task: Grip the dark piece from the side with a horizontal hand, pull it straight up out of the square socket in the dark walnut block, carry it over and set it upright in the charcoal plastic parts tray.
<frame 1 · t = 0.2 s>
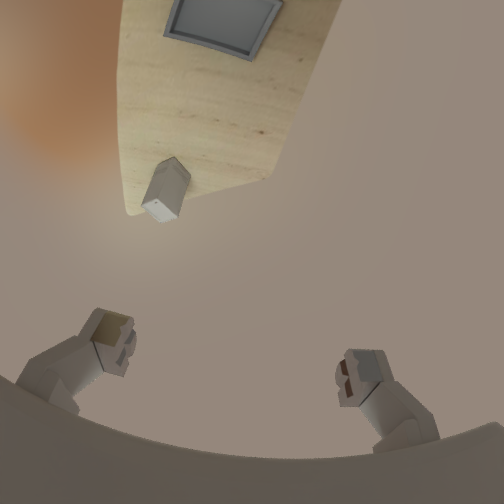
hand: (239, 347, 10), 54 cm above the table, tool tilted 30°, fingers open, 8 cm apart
parts tray: (222, 13, 37), on the table
skincare box: (175, 169, 75), on the table
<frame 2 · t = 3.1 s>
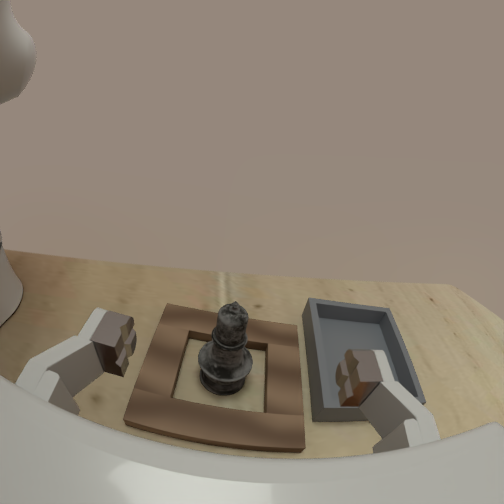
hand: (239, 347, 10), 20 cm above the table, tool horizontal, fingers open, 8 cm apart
dark piece: (222, 377, 31), resting in socket block
parts tray: (354, 364, 35), on the table
socket block: (222, 376, 30), on the table
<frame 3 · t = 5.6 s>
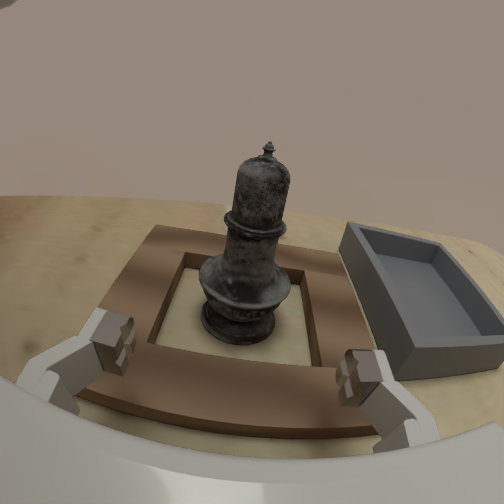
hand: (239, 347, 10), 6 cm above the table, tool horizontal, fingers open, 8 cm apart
dark piece: (237, 318, 20), resting in socket block
parts tray: (418, 305, 24), on the table
socket block: (238, 316, 20), on the table
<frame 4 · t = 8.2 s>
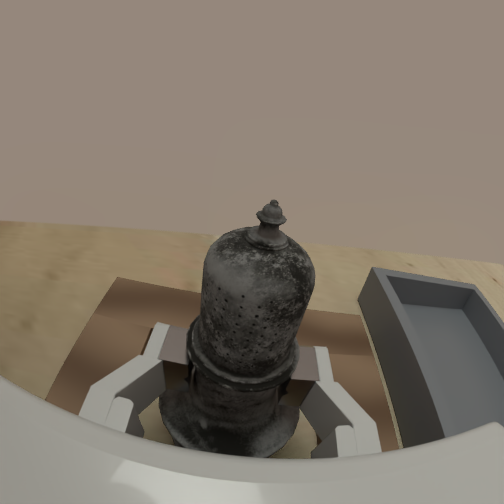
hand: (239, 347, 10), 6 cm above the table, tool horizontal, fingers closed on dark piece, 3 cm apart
dark piece: (222, 432, 12), resting in socket block, touching gripper
parts tray: (452, 375, 16), on the table
socket block: (223, 430, 12), on the table
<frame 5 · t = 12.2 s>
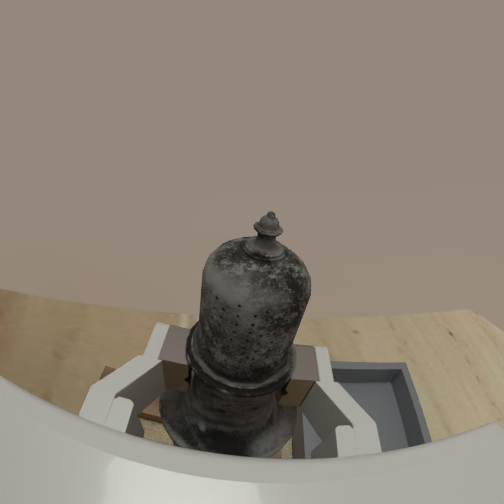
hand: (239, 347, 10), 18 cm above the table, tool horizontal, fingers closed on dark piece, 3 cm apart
dark piece: (222, 434, 12), point 12 cm above the table, touching gripper
parts tray: (357, 445, 22), on the table
socket block: (174, 472, 18), on the table
when the fingers open (8 cm above the table, at t = 16.4 s): dark piece stays where it is, resting on parts tray.
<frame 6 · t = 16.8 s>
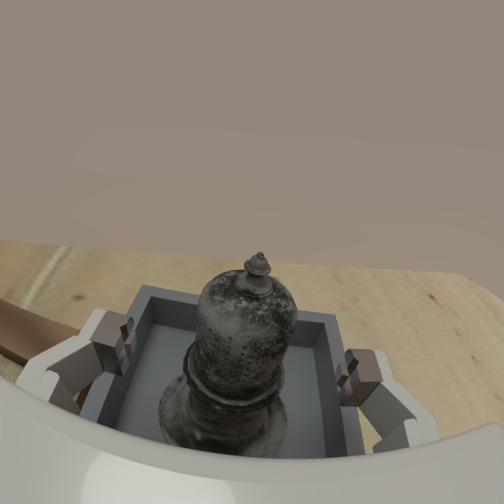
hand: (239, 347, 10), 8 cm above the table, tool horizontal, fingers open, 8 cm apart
dark piece: (217, 440, 13), point 1 cm above the table, touching parts tray
parts tray: (220, 443, 13), on the table
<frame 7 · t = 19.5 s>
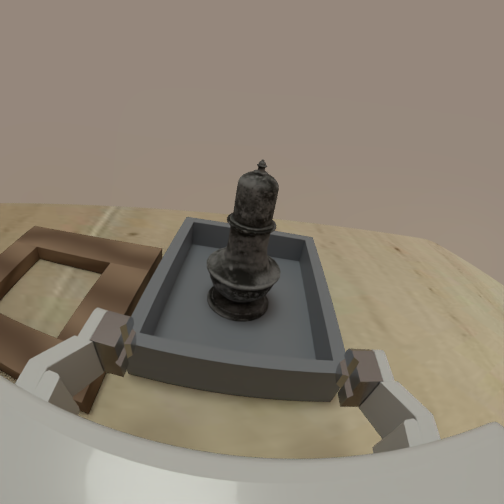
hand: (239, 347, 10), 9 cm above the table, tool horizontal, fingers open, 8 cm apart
dark piece: (237, 301, 24), point 1 cm above the table, touching parts tray
parts tray: (239, 306, 25), on the table
socket block: (47, 296, 20), on the table
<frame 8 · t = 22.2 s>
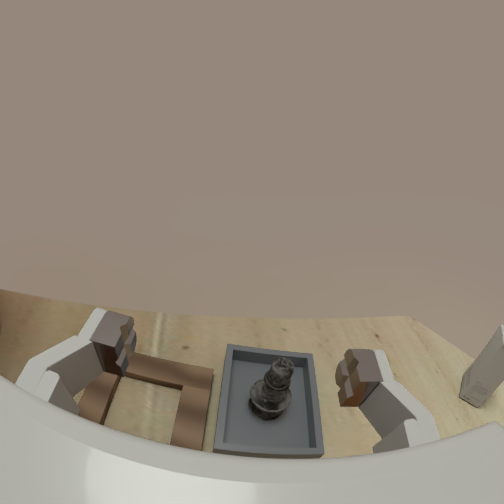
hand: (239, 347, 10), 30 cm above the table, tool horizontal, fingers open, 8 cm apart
dark piece: (265, 406, 37), point 1 cm above the table, touching parts tray
parts tray: (266, 407, 37), on the table
skincare box: (468, 390, 41), on the table
socket block: (143, 409, 33), on the table
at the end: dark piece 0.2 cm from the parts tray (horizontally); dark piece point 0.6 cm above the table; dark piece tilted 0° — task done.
